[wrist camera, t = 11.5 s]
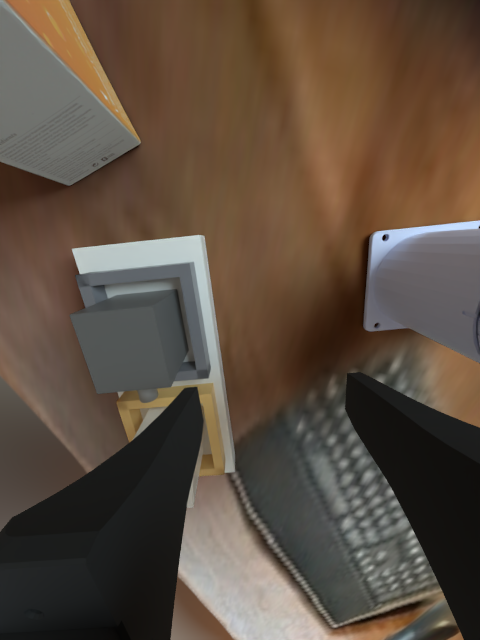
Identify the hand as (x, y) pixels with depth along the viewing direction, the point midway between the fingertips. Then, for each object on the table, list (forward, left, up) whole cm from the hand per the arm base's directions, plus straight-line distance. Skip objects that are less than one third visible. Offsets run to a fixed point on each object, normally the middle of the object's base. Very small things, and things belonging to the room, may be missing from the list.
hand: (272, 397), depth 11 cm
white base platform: (+8, +3, -9) cm, 13 cm away
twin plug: (+8, -2, -7) cm, 11 cm away
